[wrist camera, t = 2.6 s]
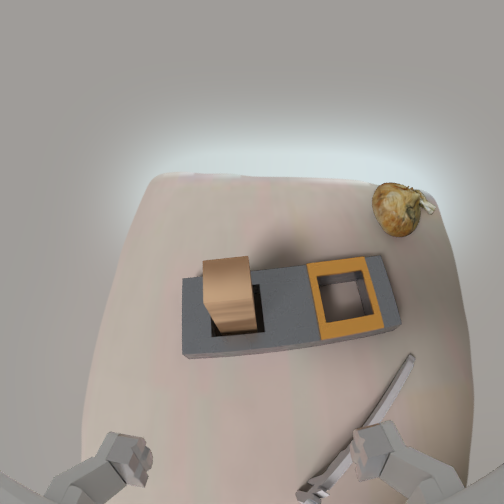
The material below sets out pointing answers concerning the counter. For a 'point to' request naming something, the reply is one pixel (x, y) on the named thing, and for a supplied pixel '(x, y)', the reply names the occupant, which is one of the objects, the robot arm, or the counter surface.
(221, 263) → the peg
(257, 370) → the counter surface
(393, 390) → the caliper
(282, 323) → the rail
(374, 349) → the counter surface
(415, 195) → the onion
